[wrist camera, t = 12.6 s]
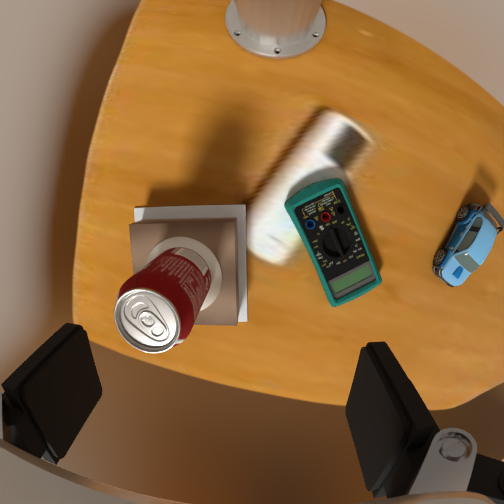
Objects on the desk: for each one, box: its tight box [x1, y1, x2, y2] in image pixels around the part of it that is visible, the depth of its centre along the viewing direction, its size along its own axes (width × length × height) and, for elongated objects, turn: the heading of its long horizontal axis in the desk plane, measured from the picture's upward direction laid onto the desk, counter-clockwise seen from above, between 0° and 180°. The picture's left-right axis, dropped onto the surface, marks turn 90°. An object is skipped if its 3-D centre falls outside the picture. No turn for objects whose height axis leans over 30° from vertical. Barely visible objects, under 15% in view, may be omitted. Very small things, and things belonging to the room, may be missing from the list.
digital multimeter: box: [284, 178, 382, 307], centre depth 35 cm, size 7×15×3 cm, turn 27°
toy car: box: [433, 203, 504, 287], centre depth 33 cm, size 6×12×6 cm, turn 149°
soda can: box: [114, 247, 211, 353], centre depth 27 cm, size 7×7×12 cm
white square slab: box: [134, 205, 247, 322], centre depth 37 cm, size 15×14×1 cm
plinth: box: [129, 217, 239, 326], centre depth 35 cm, size 12×12×4 cm
